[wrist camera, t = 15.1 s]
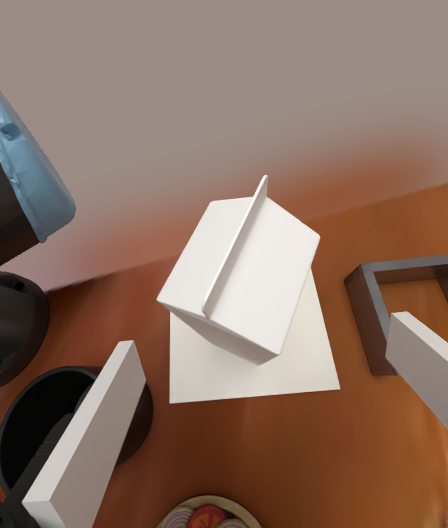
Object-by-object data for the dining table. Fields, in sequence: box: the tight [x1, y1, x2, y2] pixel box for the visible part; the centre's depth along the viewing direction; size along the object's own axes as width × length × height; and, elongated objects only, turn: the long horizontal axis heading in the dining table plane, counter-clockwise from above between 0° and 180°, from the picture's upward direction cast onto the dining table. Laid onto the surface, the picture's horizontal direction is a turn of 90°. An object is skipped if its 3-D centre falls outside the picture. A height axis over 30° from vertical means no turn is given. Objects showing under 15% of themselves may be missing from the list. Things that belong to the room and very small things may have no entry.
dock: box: [344, 255, 448, 376], centre depth 26 cm, size 12×11×5 cm
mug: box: [0, 366, 152, 496], centre depth 23 cm, size 9×12×9 cm
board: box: [170, 267, 340, 403], centre depth 29 cm, size 18×14×1 cm
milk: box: [157, 175, 320, 366], centre depth 19 cm, size 6×6×22 cm
